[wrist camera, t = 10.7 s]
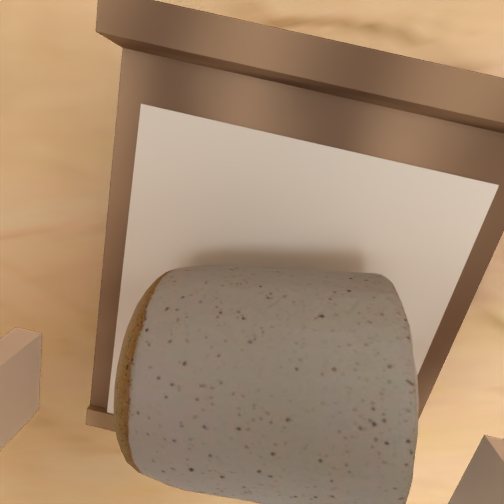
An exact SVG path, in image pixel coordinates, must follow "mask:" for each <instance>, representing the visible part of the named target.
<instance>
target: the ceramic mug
mask: <svg viewBox="0 0 504 504" xmlns="http://www.w3.org/2000/svg"><path fill="white" fill-rule="evenodd" d="M418 413H419V394H418V379H417V371H416V366H415V361H414V357H413V343H412V336H411V330H410V325H409V322H408V319H407V317H406V314H405V311H404V308H403V305H402V302H401V300H400V297H399V295H398V293H397V291H396V289H395V287H394V285H393V283H392V282H391V281H390V280H389V279H388V278H386V277H385V276H383V275H381V274H376V273H362V272H341V271H321V270H301V269H274V268H248V267H235V266H224V265H201V266H193V267H184V268H177V269H173V270H170V271H168V272H165V273H164V274H163V275H161V276H160V277H159V278H157V279H156V280H155V281H154V282H153V283H152V285H151V286H150V287H149V288H148V289H147V290H146V291H145V293H144V295H143V296H142V298H141V299H140V301H139V302H138V304H137V306H136V308H135V310H134V313H133V315H132V317H131V320H130V322H129V324H128V327H127V330H126V333H125V336H124V339H123V343H122V347H121V352H120V356H119V361H118V365H117V372H116V379H115V388H114V424H115V429H116V435H117V439H118V442H119V445H120V448H121V451H122V453H123V455H124V457H125V459H126V461H127V463H129V464H130V465H131V466H132V467H133V468H134V469H135V470H136V471H138V472H139V473H141V474H143V475H146V476H148V477H150V478H152V479H155V480H157V481H160V482H162V483H164V484H167V485H169V486H172V487H176V488H179V489H183V490H186V491H192V492H198V493H204V494H210V495H216V496H222V497H228V498H234V499H240V500H246V501H251V502H257V503H261V504H406V501H407V497H408V494H409V491H410V487H411V483H412V477H413V467H414V458H415V450H416V443H417V435H418Z"/></svg>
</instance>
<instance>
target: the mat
mask: <svg viewBox="0 0 504 504" xmlns="http://www.w3.org/2000/svg"><path fill="white" fill-rule="evenodd" d="M498 187H499V185H496V184H492V183H487V182H483V181H479V180H474V179H470V178H465V177H461V176H457V175H452V174H448V173H443V172H439V171H435V170H430V169H426V168H421V167H417V166H413V165H408V164H404V163H399V162H395V161H391V160H386V159H382V158H377V157H373V156H369V155H364V154H360V153H356V152H351V151H347V150H342V149H338V148H334V147H329V146H325V145H320V144H316V143H312V142H307V141H303V140H298V139H294V138H290V137H285V136H281V135H276V134H272V133H268V132H263V131H259V130H254V129H250V128H246V127H241V126H237V125H232V124H228V123H224V122H219V121H215V120H211V119H206V118H202V117H197V116H193V115H189V114H184V113H180V112H175V111H171V110H167V109H162V108H158V107H153V106H149V105H145V104H141V108H140V117H139V126H138V135H137V144H136V153H135V162H134V171H133V180H132V189H131V198H130V207H129V216H128V225H127V234H126V243H125V252H124V261H123V270H122V280H121V289H120V298H119V307H118V316H117V325H116V334H115V343H114V352H113V361H112V370H111V379H110V388H109V397H108V406H107V412H108V413H112V414H114V388H115V379H116V372H117V365H118V361H119V356H120V352H121V347H122V343H123V339H124V336H125V333H126V330H127V327H128V324H129V322H130V320H131V317H132V315H133V313H134V310H135V308H136V306H137V304H138V302H139V301H140V299H141V298H142V296H143V295H144V293H145V291H146V290H147V289H148V288H149V287H150V286H151V285H152V283H153V282H154V281H155V280H156V279H157V278H159V277H160V276H161V275H163V274H164V273H165V272H168V271H170V270H173V269H177V268H184V267H193V266H201V265H224V266H235V267H248V268H274V269H301V270H321V271H341V272H362V273H376V274H381V275H383V276H385V277H386V278H388V279H389V280H390V281H391V282H392V283H393V285H394V287H395V289H396V291H397V293H398V295H399V297H400V300H401V302H402V305H403V308H404V311H405V314H406V317H407V319H408V322H409V325H410V330H411V336H412V343H413V357H414V361H415V366H416V371H417V375H418V373H419V371H420V368H421V366H422V364H423V361H424V359H425V357H426V354H427V352H428V350H429V347H430V345H431V343H432V340H433V338H434V336H435V333H436V331H437V329H438V326H439V324H440V322H441V319H442V317H443V315H444V312H445V310H446V308H447V305H448V303H449V301H450V298H451V296H452V294H453V291H454V289H455V287H456V284H457V282H458V280H459V277H460V275H461V273H462V270H463V268H464V266H465V264H466V261H467V259H468V257H469V254H470V252H471V250H472V247H473V245H474V243H475V240H476V238H477V236H478V233H479V231H480V229H481V226H482V224H483V222H484V219H485V217H486V215H487V212H488V210H489V208H490V205H491V203H492V201H493V198H494V196H495V194H496V191H497V189H498Z"/></svg>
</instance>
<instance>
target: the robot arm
mask: <svg viewBox="0 0 504 504" xmlns="http://www.w3.org/2000/svg"><path fill="white" fill-rule="evenodd" d="M41 346H42V333H40V332H36V331H31V330H27V329H23V328H18V327H16V328H14V329H13V330H11V331H10V332H8V333H7V334H6V335H4V336H3V337H1V338H0V451H1V450H2V449H3V448H4V447H5V446H6V445H7V444H8V443H9V441H10V440H11V439H12V438H13V437H14V436H15V435H16V434H17V433H18V431H19V430H20V429H21V428H22V427H23V426H24V425H25V424H26V423H27V422H28V420H29V419H30V418H31V417H32V416H33V415H34V414H35V413H36V412H37V410H38V409H39V396H40V371H41ZM448 504H504V439H500V438H496V437H492V436H487V435H484V437H483V438H482V440H481V442H480V444H479V446H478V448H477V450H476V452H475V454H474V455H473V457H472V459H471V461H470V463H469V465H468V467H467V469H466V471H465V473H464V474H463V476H462V478H461V480H460V482H459V484H458V486H457V488H456V490H455V491H454V493H453V495H452V497H451V499H450V501H449V503H448Z"/></svg>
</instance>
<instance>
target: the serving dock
mask: <svg viewBox="0 0 504 504" xmlns="http://www.w3.org/2000/svg"><path fill="white" fill-rule="evenodd" d="M96 32H98V33H99V34H101V35H103V36H104V37H106V38H108V39H109V40H111V41H113V42H114V43H116V44H117V45H119V46H121V47H122V48H123V51H122V62H121V73H120V84H119V95H118V106H117V117H116V128H115V138H114V149H113V160H112V171H111V182H110V193H109V204H108V215H107V226H106V237H105V248H104V259H103V269H102V280H101V291H100V302H99V313H98V324H97V335H96V346H95V357H94V368H93V379H92V389H91V400H90V406H89V407H88V408H87V415H86V424H87V425H91V426H95V427H99V428H103V429H107V430H111V431H115V432H116V429H115V424H114V414H112V413H108V412H107V406H108V397H109V388H110V379H111V370H112V361H113V352H114V343H115V334H116V325H117V316H118V307H119V298H120V289H121V280H122V270H123V261H124V252H125V243H126V234H127V225H128V216H129V207H130V198H131V189H132V180H133V171H134V162H135V153H136V144H137V135H138V126H139V117H140V108H141V104H145V105H149V106H153V107H158V108H162V109H167V110H171V111H175V112H180V113H184V114H189V115H193V116H197V117H202V118H206V119H211V120H215V121H219V122H224V123H228V124H232V125H237V126H241V127H246V128H250V129H254V130H259V131H263V132H268V133H272V134H276V135H281V136H285V137H290V138H294V139H298V140H303V141H307V142H312V143H316V144H320V145H325V146H329V147H334V148H338V149H342V150H347V151H351V152H356V153H360V154H364V155H369V156H373V157H377V158H382V159H386V160H391V161H395V162H399V163H404V164H408V165H413V166H417V167H421V168H426V169H430V170H435V171H439V172H443V173H448V174H452V175H457V176H461V177H465V178H470V179H474V180H479V181H483V182H487V183H492V184H496V185H499V187H498V189H497V191H496V194H495V196H494V198H493V201H492V203H491V205H490V208H489V210H488V212H487V215H486V217H485V219H484V222H483V224H482V226H481V229H480V231H479V233H478V236H477V238H476V240H475V243H474V245H473V247H472V250H471V252H470V254H469V257H468V259H467V261H466V264H465V266H464V268H463V270H462V273H461V275H460V277H459V280H458V282H457V284H456V287H455V289H454V291H453V294H452V296H451V298H450V301H449V303H448V305H447V308H446V310H445V312H444V315H443V317H442V319H441V322H440V324H439V326H438V329H437V331H436V333H435V336H434V338H433V340H432V343H431V345H430V347H429V350H428V352H427V354H426V357H425V359H424V361H423V364H422V366H421V368H420V371H419V373H418V375H417V379H418V394H419V413H418V419H419V417H420V415H421V413H422V411H423V408H424V406H425V404H426V402H427V399H428V397H429V395H430V393H431V391H432V388H433V386H434V384H435V382H436V379H437V377H438V375H439V373H440V371H441V368H442V366H443V364H444V362H445V360H446V357H447V355H448V353H449V351H450V348H451V346H452V344H453V342H454V340H455V337H456V335H457V333H458V331H459V329H460V326H461V324H462V322H463V320H464V317H465V315H466V313H467V311H468V309H469V306H470V304H471V302H472V300H473V298H474V295H475V293H476V291H477V289H478V286H479V284H480V282H481V280H482V278H483V275H484V273H485V271H486V269H487V266H488V264H489V262H490V260H491V258H492V255H493V253H494V251H495V249H496V247H497V244H498V242H499V240H500V238H501V235H502V233H503V231H504V78H501V77H496V76H492V75H487V74H483V73H478V72H474V71H469V70H465V69H460V68H456V67H451V66H447V65H442V64H438V63H433V62H429V61H424V60H420V59H415V58H411V57H406V56H402V55H397V54H393V53H388V52H384V51H379V50H375V49H370V48H366V47H361V46H357V45H352V44H348V43H343V42H339V41H334V40H330V39H325V38H321V37H316V36H312V35H307V34H303V33H298V32H294V31H289V30H285V29H280V28H276V27H271V26H267V25H262V24H258V23H253V22H249V21H244V20H240V19H235V18H231V17H226V16H222V15H217V14H213V13H208V12H204V11H199V10H195V9H190V8H186V7H181V6H177V5H172V4H168V3H163V2H159V1H154V0H98V6H97V20H96Z"/></svg>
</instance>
